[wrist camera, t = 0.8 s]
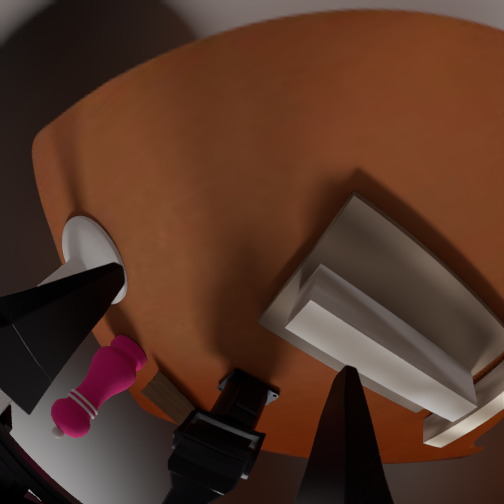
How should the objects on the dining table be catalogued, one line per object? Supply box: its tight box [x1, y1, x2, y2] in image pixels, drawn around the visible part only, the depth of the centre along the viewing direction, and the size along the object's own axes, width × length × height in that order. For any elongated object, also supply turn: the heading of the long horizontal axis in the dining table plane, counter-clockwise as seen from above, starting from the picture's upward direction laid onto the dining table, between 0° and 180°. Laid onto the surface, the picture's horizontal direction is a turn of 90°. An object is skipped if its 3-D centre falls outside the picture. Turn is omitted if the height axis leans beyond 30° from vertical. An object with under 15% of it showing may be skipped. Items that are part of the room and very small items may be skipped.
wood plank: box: [141, 371, 195, 425], centre depth 39 cm, size 15×2×5 cm, turn 33°
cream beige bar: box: [423, 360, 504, 448], centre depth 19 cm, size 18×4×4 cm, turn 157°
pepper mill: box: [51, 335, 146, 439], centre depth 31 cm, size 7×7×20 cm
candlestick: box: [38, 216, 127, 304], centre depth 20 cm, size 13×13×30 cm
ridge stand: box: [257, 190, 504, 422], centre depth 19 cm, size 14×22×6 cm, turn 63°
